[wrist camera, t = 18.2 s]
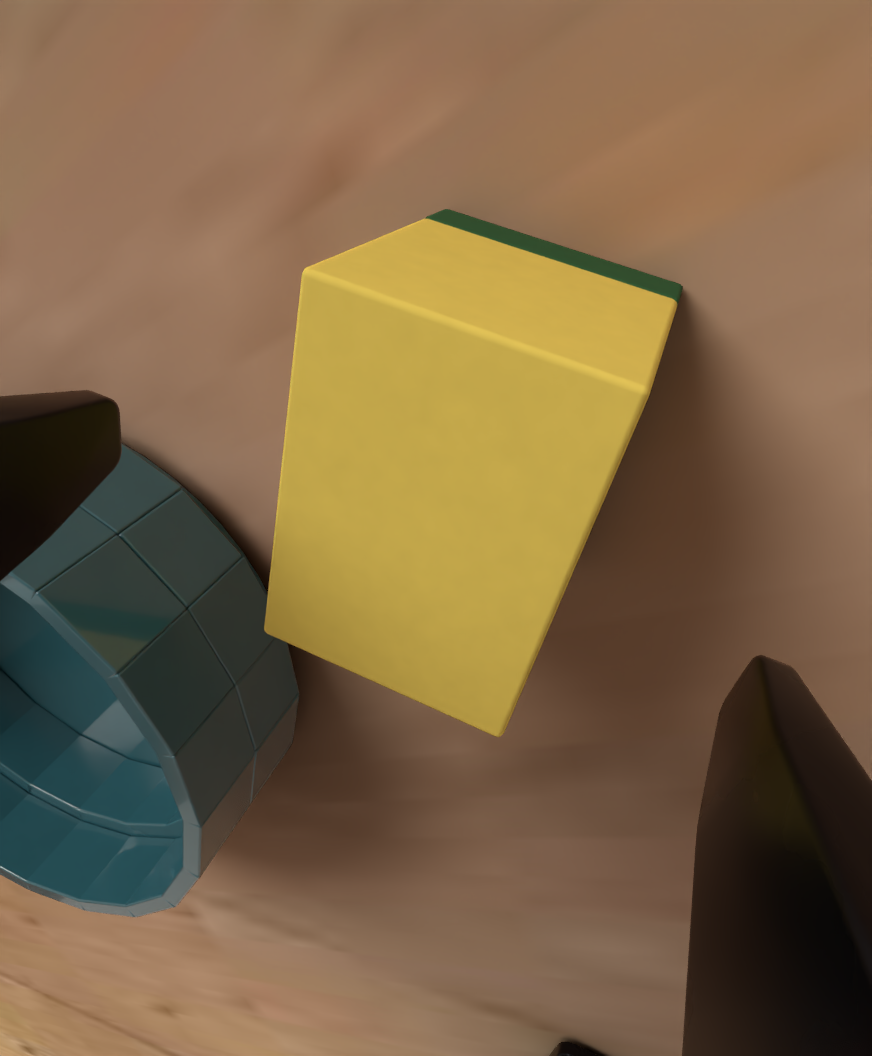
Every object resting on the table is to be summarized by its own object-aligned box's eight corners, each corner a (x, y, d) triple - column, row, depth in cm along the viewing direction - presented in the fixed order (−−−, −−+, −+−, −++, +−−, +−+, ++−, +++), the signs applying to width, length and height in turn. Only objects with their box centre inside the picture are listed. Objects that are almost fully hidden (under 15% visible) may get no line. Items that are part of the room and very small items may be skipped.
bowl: (287, 834, 24) (196, 982, 20) (-37, 674, 27) (-176, 778, 23) (338, 507, 16) (205, 643, 12) (-129, 321, 19) (-366, 385, 15)
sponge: (565, 567, 15) (500, 741, 11) (384, 494, 16) (261, 633, 12) (684, 284, 12) (651, 390, 8) (444, 207, 12) (299, 265, 8)
